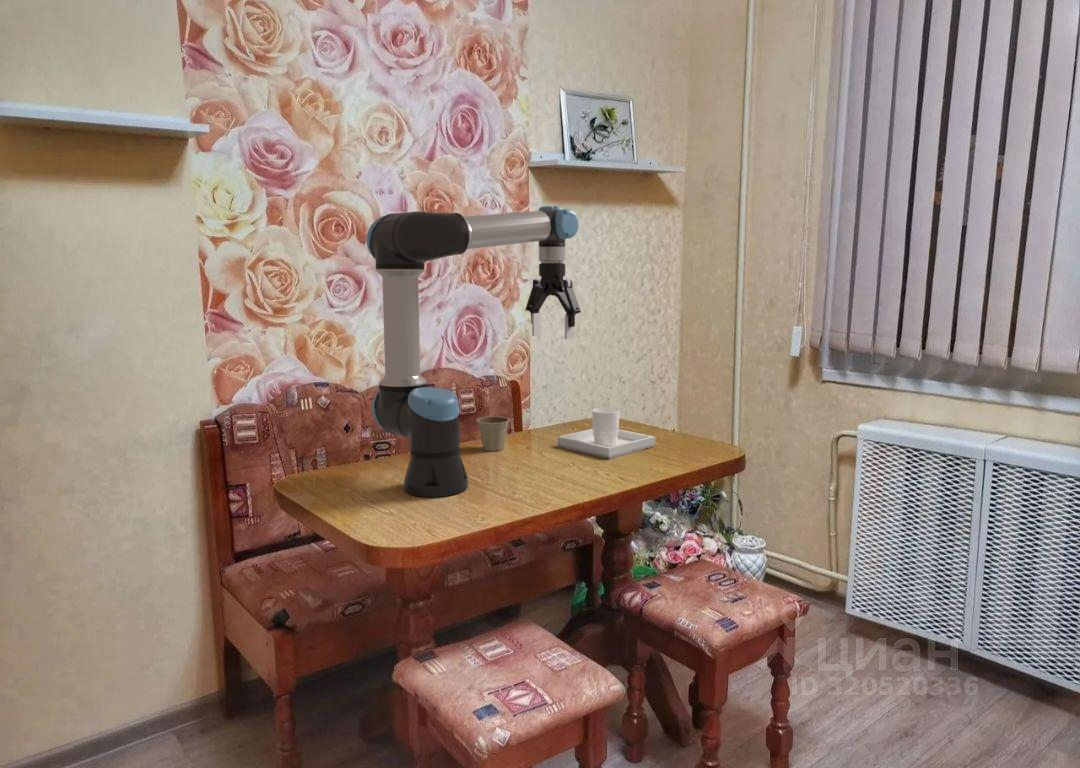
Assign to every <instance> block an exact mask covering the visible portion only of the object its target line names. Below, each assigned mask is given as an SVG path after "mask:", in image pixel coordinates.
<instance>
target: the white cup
mask: <svg viewBox="0 0 1080 768" xmlns="http://www.w3.org/2000/svg"><path fill="white" fill-rule="evenodd" d="M591 412H592V416H591V417H592V429H593V435H594V444H596V445H601V446H605V447H610V446H615V445H617V444H618V429H620V413H621V411H620V409H618V408H613V407H597V408H594V409H592V411H591Z"/></svg>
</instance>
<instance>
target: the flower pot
mask: <svg viewBox="0 0 1080 768" xmlns="http://www.w3.org/2000/svg"><path fill="white" fill-rule="evenodd" d="M510 421H511V420H510V418H508V417H504V416H497V415H496V416H483V417H479V418H477V419H476V423H477V424H478V425H477V426H478V427H479V430H480V431H479V432H480V439H481V444H482V449H483V450H484V451H486V452H495V451H499V452H501V451H503V450H505V448H506V447H505V446H506V445H505V444H506V436H507V430H508V429H507V428H508V426H509V423H510Z"/></svg>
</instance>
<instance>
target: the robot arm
mask: <svg viewBox="0 0 1080 768" xmlns="http://www.w3.org/2000/svg"><path fill="white" fill-rule="evenodd" d="M579 224H580V223H579V218H578V215H577V213H575V211H574V210H572V209H570V208H563V206H557V205H556V206H555V205H553V206H551V205H549V206H548V205H547V206H540V207H539V208H538V210H534V211H523V212H521V211H516V212H515V211H513V212H509V213H495V214H494V213H493V214H483V215H468V216H464V215H463V214H461V213H459V212H431V211H419V210H417V211H410V212H409V211H407V212H394V213H393V212H392V213H388V214H385V215H382V216H380V217H378V218H376V220H375V221H374V222H372V224H371V225H370V226H369V227H368V231H367V234H366V247H367V250H368V252H369V254H370V255H371V256H372V258H373V259H374V260H375V272H376V273H378V275H380V276H381V279H382V309H383V310H382V312H383V313H382V314H383V345H384V347H383V349H384V351H383V353H384V376H383V377H382V378H381V379H380V380H379V382H378V391H377V392H376V395H375V396H374V397H373V399H372V403H371V413H372V418H373V420H374V421H375V423H376V424H377V426H378V427H379V428H380V429H382V430H384V431H386V432H387V433H389V434H391V435H395V436H399V437H402V438H405V439H408V440H409V447H410V448H409V450H410V451H409V452H410V454H409V455H410V458H409V462H408V465H407V469H406V473H405V477H404V479H403V488H404V489H403V491H404V492H405V493H407V494H409V495H411V496H414V497H422V498H441V497H447V496H453V495H458V494H461V493H462V492H465V491H466V490H467V489H468V488H469V478H468V477H469V476H468V475H467V471H466V469H465V465H464V463H463V460H462V457H461V448H460V447H461V444H460V443H461V442H460V441H461V440H460V438H461V437H460V413H461V412H460V410H461V409H460V404H459V398H458V396H457V394H455V393H454V392H453V391H451V390H448V389H445V388H443V387H439V388H438V387H435V386H434V387H433V386H431V387H429V386H428V385H427V383H428V381H427V379H425V378H424V377H423V376H422V375H421V355H420V354H421V353H420V352H421V350H420V349H421V345H420V342H421V341H420V340H421V339H420V303H419V302H420V301H419V299H420V297H419V296H420V295H419V277H420V276H422V274H423V273H424V272H425V263H426V262H430V261H431V262H432V261H434V260H437V259H442V258H446V257H453V256H458V255H463V254H465V253H466V252H467V250H472V249H481V248H488V247H489V248H491V247H497V246H508V245H515V244H524V243H525V244H526V243H533V242H538V261H539V262H540V263H539V264H538V276H539V277H541V278H540V279H539V278H536V279H535V278H534V279H533V280H532V287H531V291H530V294H529V297H528V300H527V303H526V305H525V311H526V312H527V311H528V312H529V313H530V323H531V329H532V330H531V332H532V333H531V336H533V337H538V336H541V335H542V329H541V328H542V327H541V326H542V323H541V321H542V319H541V316H542V315H541V312H540V311H541V309H542V307H543V305H544V303H545V301H546V300H547V298H548V297H549V296H555V297H556V298H557V299H558V301H559V303H560V305H561V306H562V308H563V310H564V312H565V313H566V314H565V315H564V339H565V340H570V339H574V327H575V325H576V318H575V317H576V315H577V314H580V313H581V311H582V310H581V307H580V305H579V302H578V298H577V296H576V293H575V291H574V287H573V280H572V279H564V277H565V276H566V264H565V262H564V261H566V239H572V238H574V237H575V236H576V235H577V233H578V232H579V226H580V225H579Z"/></svg>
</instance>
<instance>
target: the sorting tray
mask: <svg viewBox="0 0 1080 768" xmlns="http://www.w3.org/2000/svg"><path fill="white" fill-rule="evenodd" d="M653 446H655V447H656V436H653V435H648V434H645V433H644V434H643V433H639V432H634V431H630V430H624V429H620V428H619V429H618V444H617V445H615V446H610V447H605V446H601V445H596V444H594V435H593V428H589V429H586V430H581V431H577V432H573V433H568V434H562V435H560V436H559V435H558V436H557V447H559V448H562V449H566V450H570V451H574V452H578V453H581V454H587V455H590V456H594V457H598V458H602V459H606V460H612V459H614V458H615V459H616V458H619V457H623V456H626V454H627V455H630V454H629V453H631V454H633V452H634V453H638V452H641V451H640V450H642V451H644V450H643V449H645V450H647V449H646V448H649V449H651V448H650V447H653ZM653 448H654V447H653ZM637 451H638V452H637Z"/></svg>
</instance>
